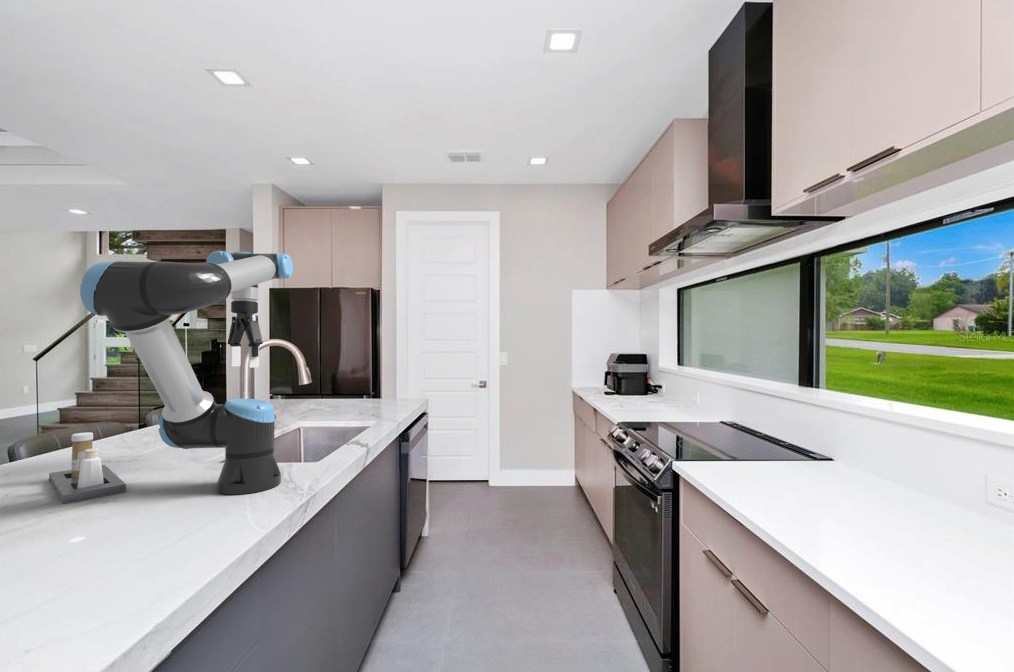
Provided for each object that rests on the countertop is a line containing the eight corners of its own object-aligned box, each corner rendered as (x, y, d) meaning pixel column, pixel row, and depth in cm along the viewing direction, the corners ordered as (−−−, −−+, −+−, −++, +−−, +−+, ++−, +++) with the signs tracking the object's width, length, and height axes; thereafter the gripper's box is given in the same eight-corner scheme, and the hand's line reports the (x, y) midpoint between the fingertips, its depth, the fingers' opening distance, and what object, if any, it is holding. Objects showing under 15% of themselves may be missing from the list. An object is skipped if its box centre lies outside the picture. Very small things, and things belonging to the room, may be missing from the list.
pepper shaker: (90, 487, 124) (91, 446, 124) (109, 488, 123) (110, 447, 124) (70, 494, 118) (71, 451, 118) (90, 494, 118) (91, 451, 118)
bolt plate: (125, 491, 120) (125, 483, 120) (62, 503, 111) (62, 495, 111) (104, 471, 140) (104, 464, 140) (49, 480, 131) (49, 473, 131)
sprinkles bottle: (69, 481, 130) (70, 433, 130) (91, 477, 133) (91, 431, 133) (72, 484, 127) (72, 435, 127) (94, 480, 130) (94, 433, 130)
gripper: (216, 302, 152) (216, 366, 152) (249, 297, 137) (248, 368, 137) (240, 303, 158) (240, 365, 158) (274, 299, 143) (274, 367, 142)
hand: (244, 366), depth 147 cm, fingers open, 13 cm apart
